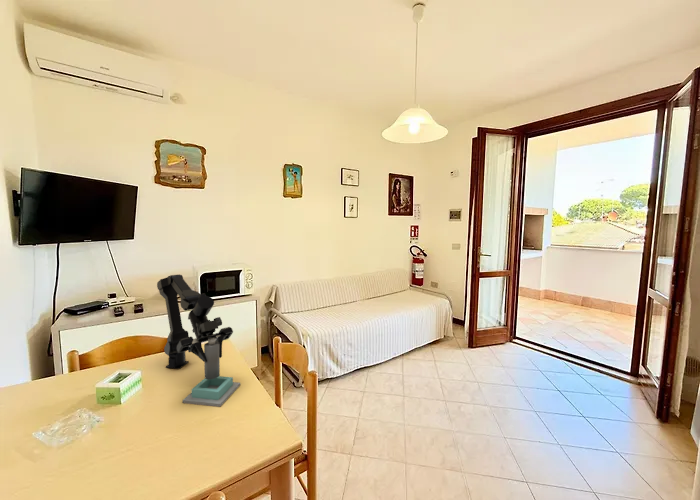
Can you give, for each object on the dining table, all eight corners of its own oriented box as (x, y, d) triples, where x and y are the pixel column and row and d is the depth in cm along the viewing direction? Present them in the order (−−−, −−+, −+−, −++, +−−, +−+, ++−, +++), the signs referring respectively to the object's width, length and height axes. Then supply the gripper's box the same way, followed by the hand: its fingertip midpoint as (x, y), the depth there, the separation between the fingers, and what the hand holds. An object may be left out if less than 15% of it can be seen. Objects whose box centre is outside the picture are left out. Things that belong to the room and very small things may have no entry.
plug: (205, 373, 109) (204, 337, 107) (220, 371, 110) (219, 335, 109) (203, 380, 104) (203, 342, 103) (219, 378, 106) (218, 340, 105)
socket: (206, 381, 116) (206, 372, 115) (240, 385, 114) (240, 375, 114) (182, 402, 102) (182, 391, 101) (220, 406, 100) (220, 395, 100)
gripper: (179, 316, 101) (192, 357, 94) (230, 306, 115) (245, 341, 109) (171, 333, 106) (183, 372, 100) (221, 321, 121) (235, 355, 114)
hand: (213, 359), depth 106 cm, fingers closed on plug, 5 cm apart
